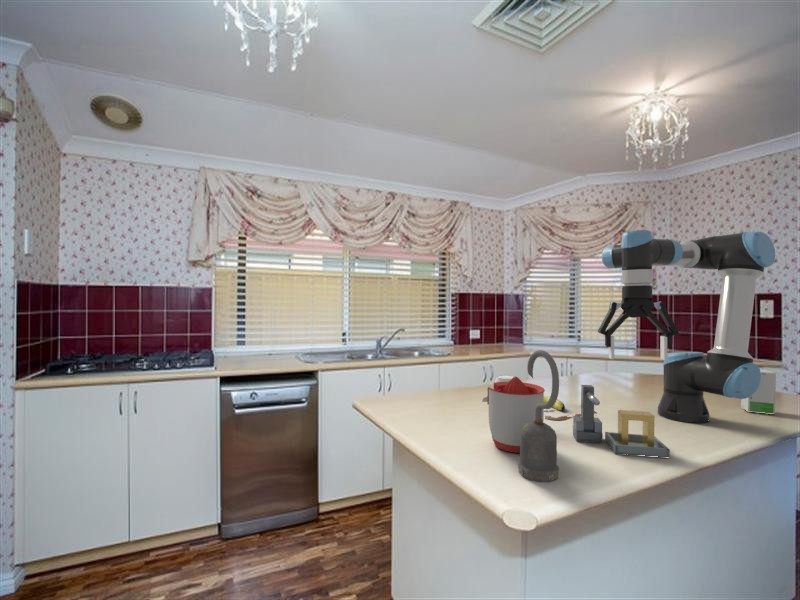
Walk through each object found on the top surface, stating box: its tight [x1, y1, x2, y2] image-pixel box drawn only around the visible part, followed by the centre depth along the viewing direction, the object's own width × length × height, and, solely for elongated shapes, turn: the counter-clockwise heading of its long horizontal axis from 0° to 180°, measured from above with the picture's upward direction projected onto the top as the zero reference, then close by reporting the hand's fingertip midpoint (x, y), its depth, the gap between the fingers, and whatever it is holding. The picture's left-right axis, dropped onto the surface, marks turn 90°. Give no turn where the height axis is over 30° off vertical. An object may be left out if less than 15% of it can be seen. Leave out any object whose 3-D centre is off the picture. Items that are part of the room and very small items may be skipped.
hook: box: [517, 349, 560, 483], centre depth 96 cm, size 10×12×30 cm
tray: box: [604, 431, 671, 457], centre depth 112 cm, size 13×11×2 cm
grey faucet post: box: [572, 384, 604, 445], centre depth 116 cm, size 7×14×16 cm, turn 166°
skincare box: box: [740, 369, 777, 414], centre depth 149 cm, size 8×7×16 cm
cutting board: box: [544, 394, 598, 421], centre depth 157 cm, size 35×27×4 cm
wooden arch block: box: [617, 409, 655, 447], centre depth 112 cm, size 8×4×10 cm, turn 76°
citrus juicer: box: [481, 376, 546, 454], centre depth 115 cm, size 16×17×20 cm
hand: (637, 358), depth 115 cm, fingers open, 13 cm apart
